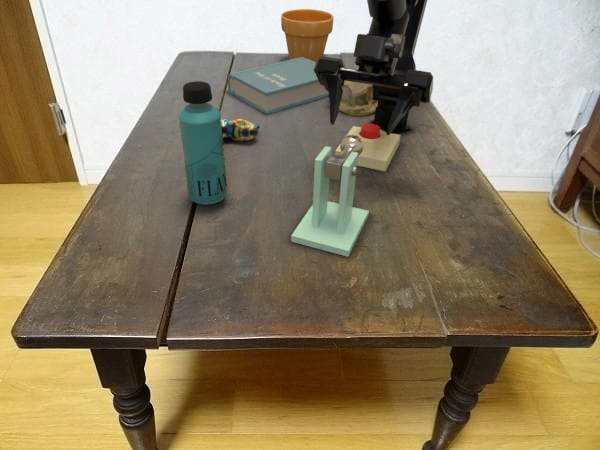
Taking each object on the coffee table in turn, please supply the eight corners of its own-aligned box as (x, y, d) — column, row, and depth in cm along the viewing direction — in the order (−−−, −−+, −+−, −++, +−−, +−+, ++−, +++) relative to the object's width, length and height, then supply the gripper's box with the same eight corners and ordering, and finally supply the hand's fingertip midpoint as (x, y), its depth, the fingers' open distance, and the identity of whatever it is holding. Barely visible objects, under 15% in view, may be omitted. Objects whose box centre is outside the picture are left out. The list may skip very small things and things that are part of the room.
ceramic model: (351, 120, 108) (356, 76, 102) (321, 103, 115) (323, 61, 109) (396, 106, 115) (403, 64, 109) (365, 91, 122) (369, 51, 116)
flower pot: (340, 63, 139) (344, 15, 131) (308, 75, 130) (310, 24, 123) (303, 52, 146) (304, 6, 139) (270, 63, 138) (270, 14, 130)
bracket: (316, 204, 81) (320, 134, 73) (368, 216, 78) (377, 145, 70) (290, 241, 72) (292, 167, 65) (348, 257, 70) (356, 181, 62)
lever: (343, 150, 78) (345, 129, 76) (364, 154, 77) (367, 133, 75) (319, 179, 69) (321, 156, 67) (343, 185, 68) (346, 162, 66)
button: (363, 130, 96) (364, 122, 94) (381, 133, 94) (382, 125, 93) (358, 137, 93) (359, 129, 92) (376, 141, 92) (377, 133, 91)
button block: (352, 135, 102) (354, 117, 99) (399, 144, 99) (402, 126, 97) (334, 160, 93) (335, 142, 90) (385, 171, 90) (388, 152, 88)
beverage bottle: (195, 217, 77) (180, 96, 65) (183, 196, 82) (167, 80, 70) (234, 207, 79) (226, 89, 67) (220, 187, 84) (210, 74, 72)
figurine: (193, 114, 104) (262, 116, 102) (194, 134, 105) (262, 137, 104) (177, 119, 94) (254, 122, 92) (178, 142, 95) (254, 145, 94)
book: (266, 114, 109) (266, 93, 106) (228, 92, 119) (227, 72, 116) (340, 92, 121) (341, 73, 118) (299, 74, 131) (300, 55, 128)
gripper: (320, 2, 73) (291, 97, 72) (444, 17, 68) (416, 120, 67) (333, 41, 84) (309, 125, 82) (442, 57, 79) (417, 146, 77)
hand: (359, 128), depth 77 cm, fingers open, 9 cm apart
